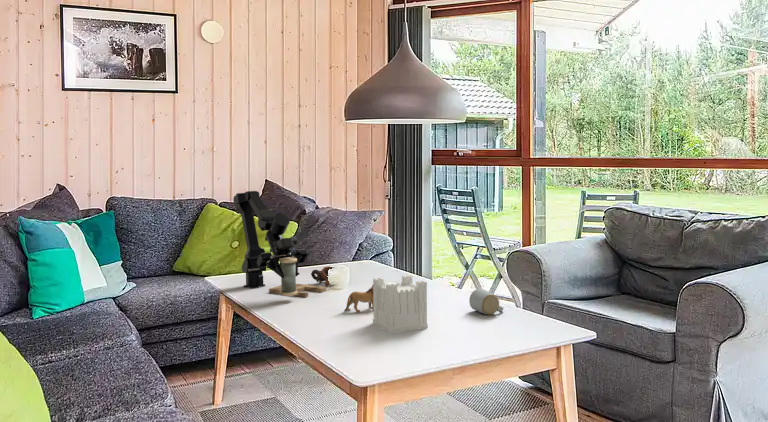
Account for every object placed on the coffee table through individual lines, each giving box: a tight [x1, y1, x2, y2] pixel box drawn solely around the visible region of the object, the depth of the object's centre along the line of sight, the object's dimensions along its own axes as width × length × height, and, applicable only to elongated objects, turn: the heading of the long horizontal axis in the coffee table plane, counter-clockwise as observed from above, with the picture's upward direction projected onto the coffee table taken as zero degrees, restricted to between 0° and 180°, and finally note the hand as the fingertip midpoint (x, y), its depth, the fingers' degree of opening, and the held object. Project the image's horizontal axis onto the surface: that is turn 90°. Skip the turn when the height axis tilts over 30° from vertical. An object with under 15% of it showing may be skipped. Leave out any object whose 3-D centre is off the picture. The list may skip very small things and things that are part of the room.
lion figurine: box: [343, 284, 374, 313], centre depth 227 cm, size 15×5×9 cm, turn 118°
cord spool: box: [279, 257, 298, 297], centre depth 241 cm, size 6×6×13 cm
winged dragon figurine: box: [310, 266, 335, 287], centre depth 272 cm, size 12×10×8 cm
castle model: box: [372, 274, 429, 334], centre depth 207 cm, size 13×15×14 cm
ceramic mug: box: [468, 288, 504, 316], centre depth 223 cm, size 11×8×8 cm
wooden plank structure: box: [268, 271, 327, 298], centre depth 258 cm, size 18×13×6 cm
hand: (290, 276), depth 240 cm, fingers closed on cord spool, 5 cm apart
